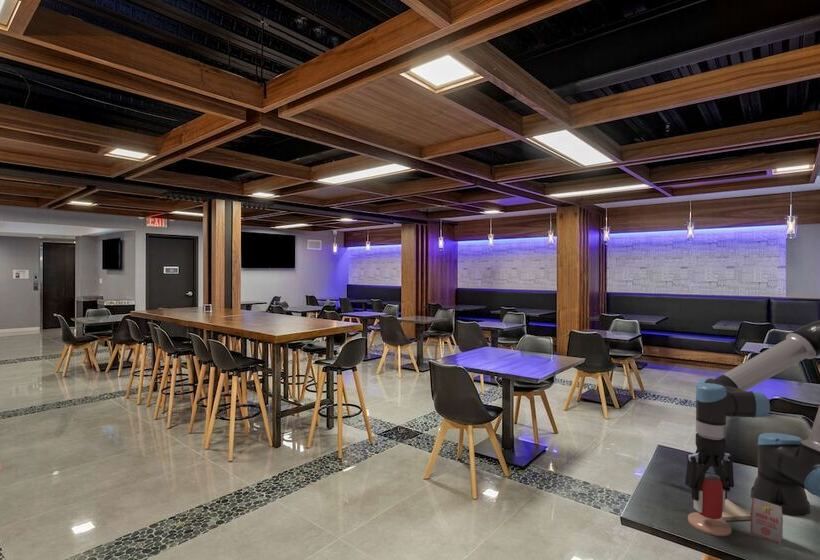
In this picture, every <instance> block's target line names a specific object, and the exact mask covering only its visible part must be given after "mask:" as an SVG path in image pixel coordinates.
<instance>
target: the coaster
mask: <svg viewBox="0 0 820 560" xmlns="http://www.w3.org/2000/svg"><path fill="white" fill-rule="evenodd" d="M687 522H688V524H689V525H690V526H691V527H693V528H694V529H696V530H697V531H699V532H701V533H703V534H707V535H711V536H714V537H728V536H730V535H731V534H732V531H733V529H732V526H731V525H730V523H729V522H727V521H725V520H723V519H721V518H720V519H710V518H706V517H704V516H702V515H700V514H699V513H698V512H697V511H696V512H695V511H694V512H690V513H689V514H688V515H687Z"/></svg>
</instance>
